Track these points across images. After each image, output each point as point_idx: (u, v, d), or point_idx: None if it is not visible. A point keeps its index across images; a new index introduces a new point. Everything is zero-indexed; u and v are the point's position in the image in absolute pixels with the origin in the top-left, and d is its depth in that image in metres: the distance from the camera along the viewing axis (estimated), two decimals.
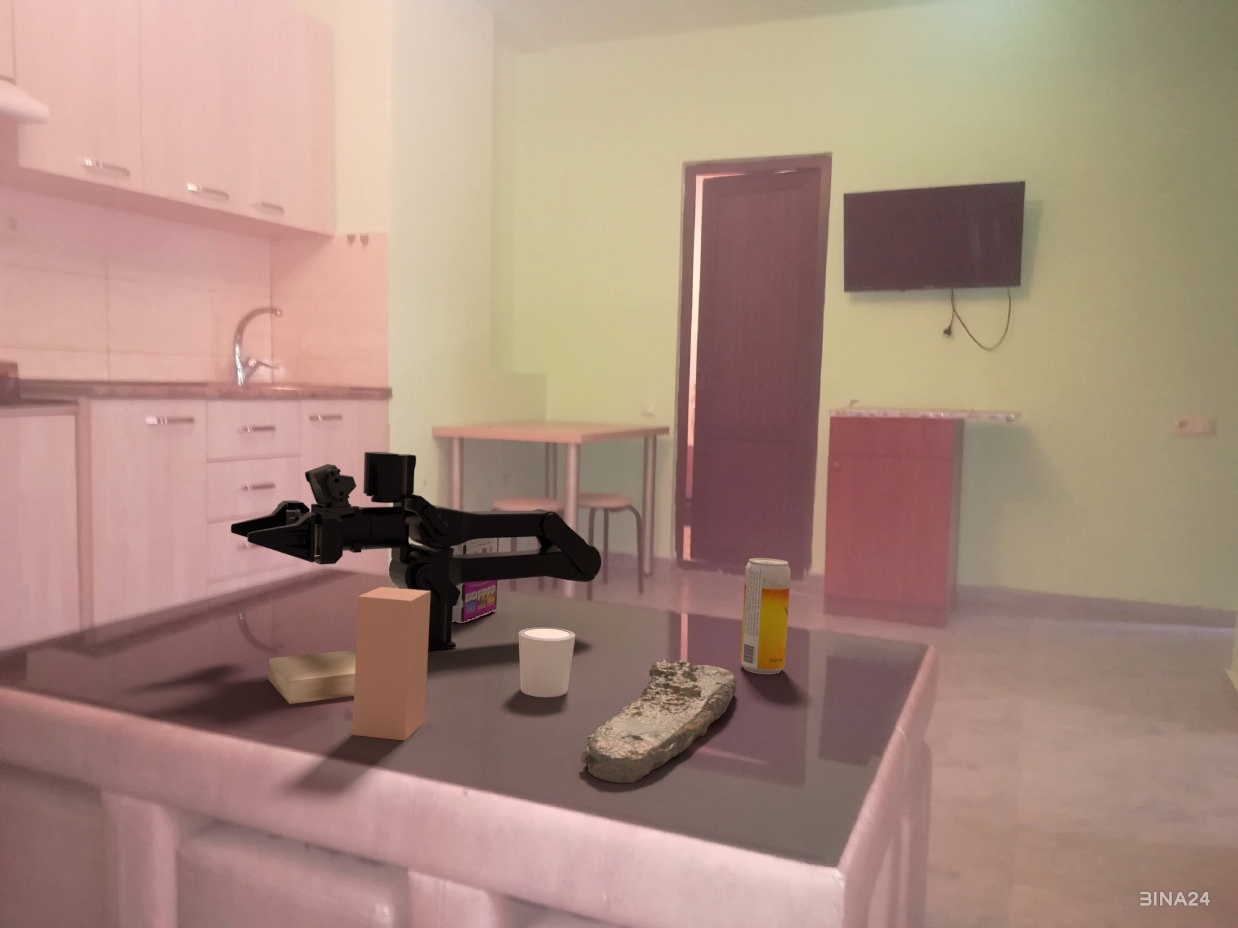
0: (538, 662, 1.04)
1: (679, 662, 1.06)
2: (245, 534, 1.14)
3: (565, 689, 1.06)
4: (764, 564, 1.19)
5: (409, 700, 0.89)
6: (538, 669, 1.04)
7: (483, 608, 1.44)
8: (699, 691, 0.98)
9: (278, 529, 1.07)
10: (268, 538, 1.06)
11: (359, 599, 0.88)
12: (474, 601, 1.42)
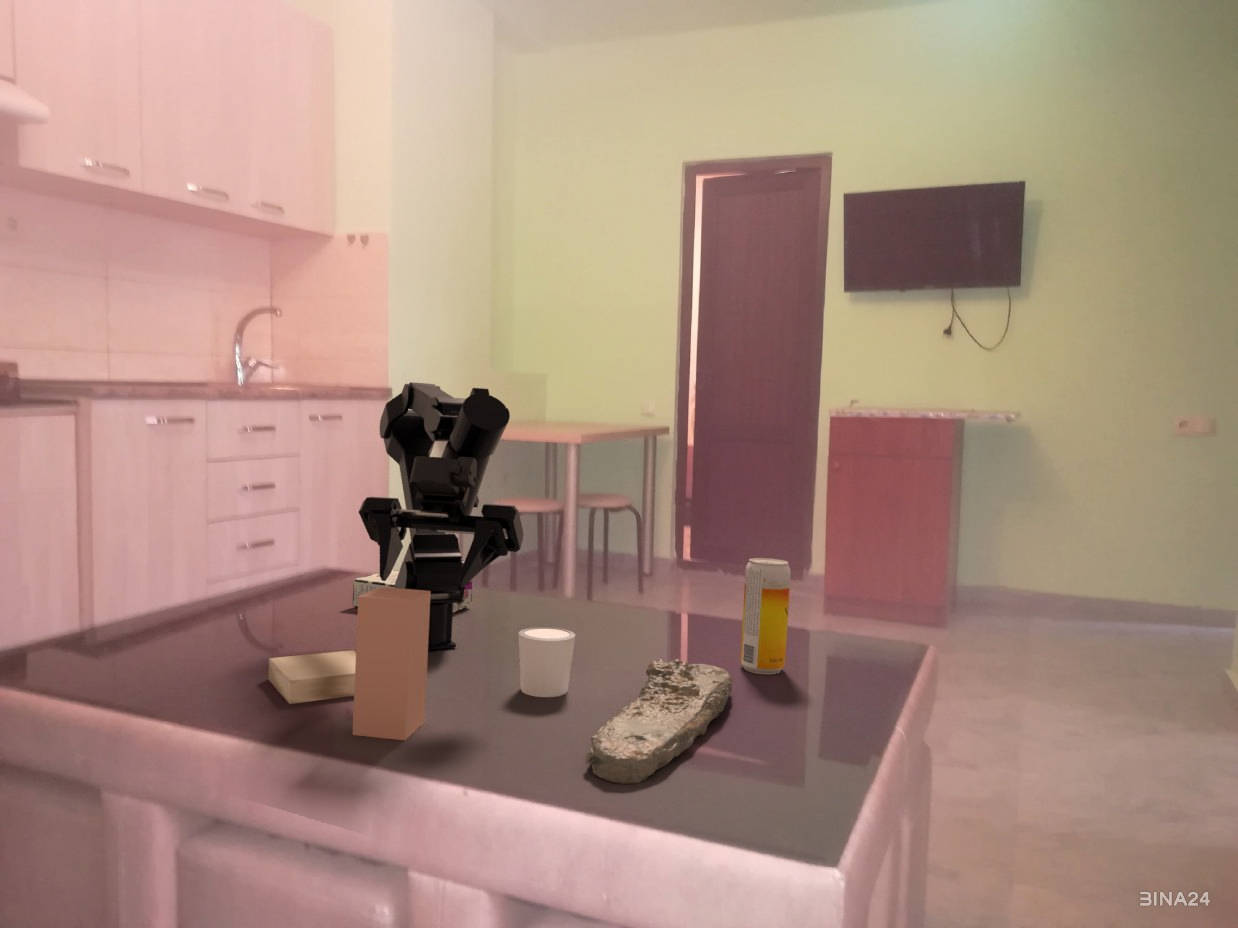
0: (538, 662, 1.04)
1: (675, 661, 1.06)
2: (390, 570, 1.01)
3: (565, 689, 1.06)
4: (764, 564, 1.19)
5: (409, 700, 0.89)
6: (538, 669, 1.04)
7: None
8: (697, 690, 0.98)
9: (476, 556, 0.99)
10: (473, 569, 1.00)
11: (359, 599, 0.88)
12: None
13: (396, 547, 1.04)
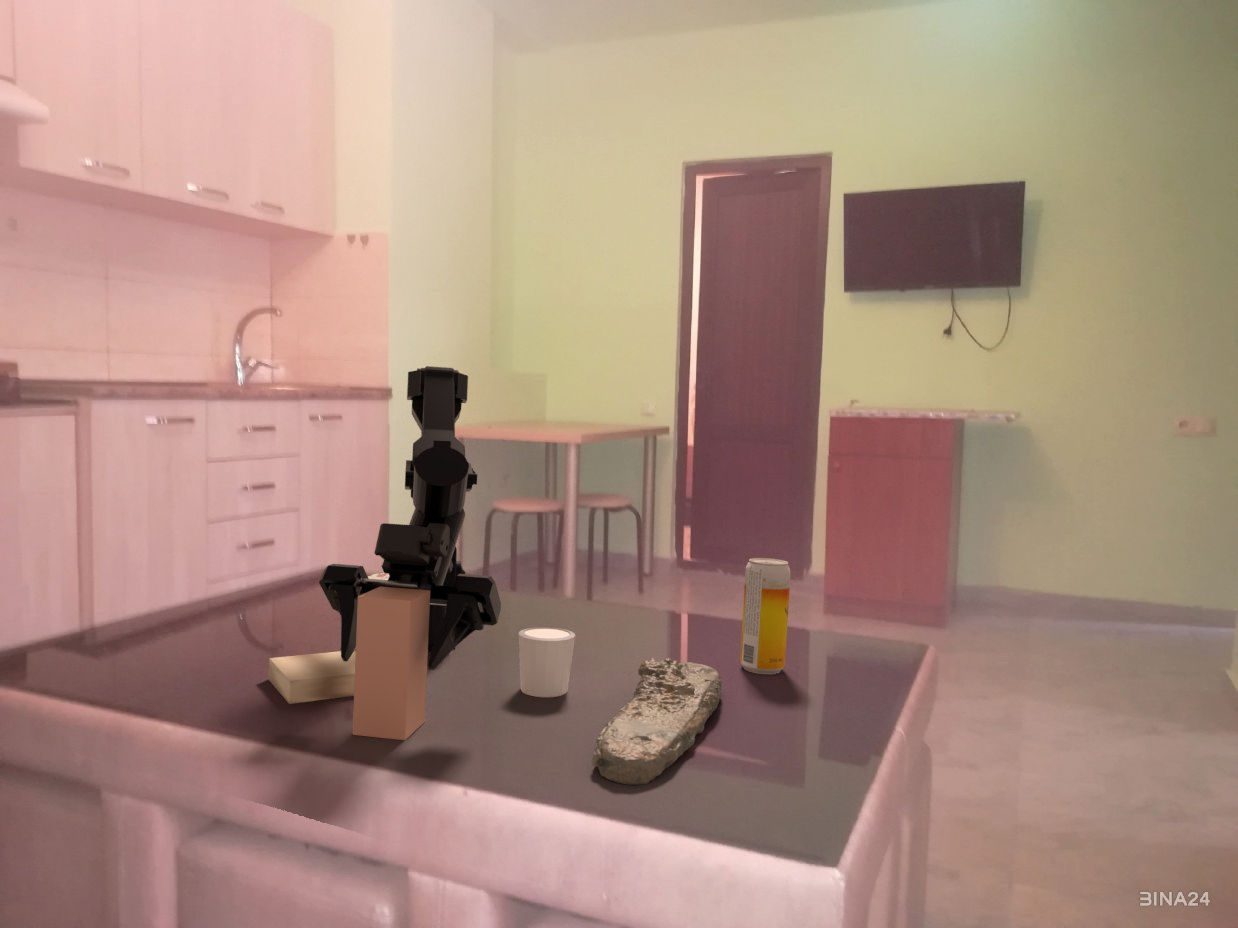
0: (538, 663, 1.04)
1: (666, 660, 1.06)
2: (353, 648, 0.92)
3: (565, 689, 1.06)
4: (764, 564, 1.19)
5: (409, 700, 0.89)
6: (538, 669, 1.04)
7: None
8: (693, 689, 0.99)
9: (448, 635, 0.90)
10: (444, 649, 0.90)
11: (359, 599, 0.88)
12: None
13: None
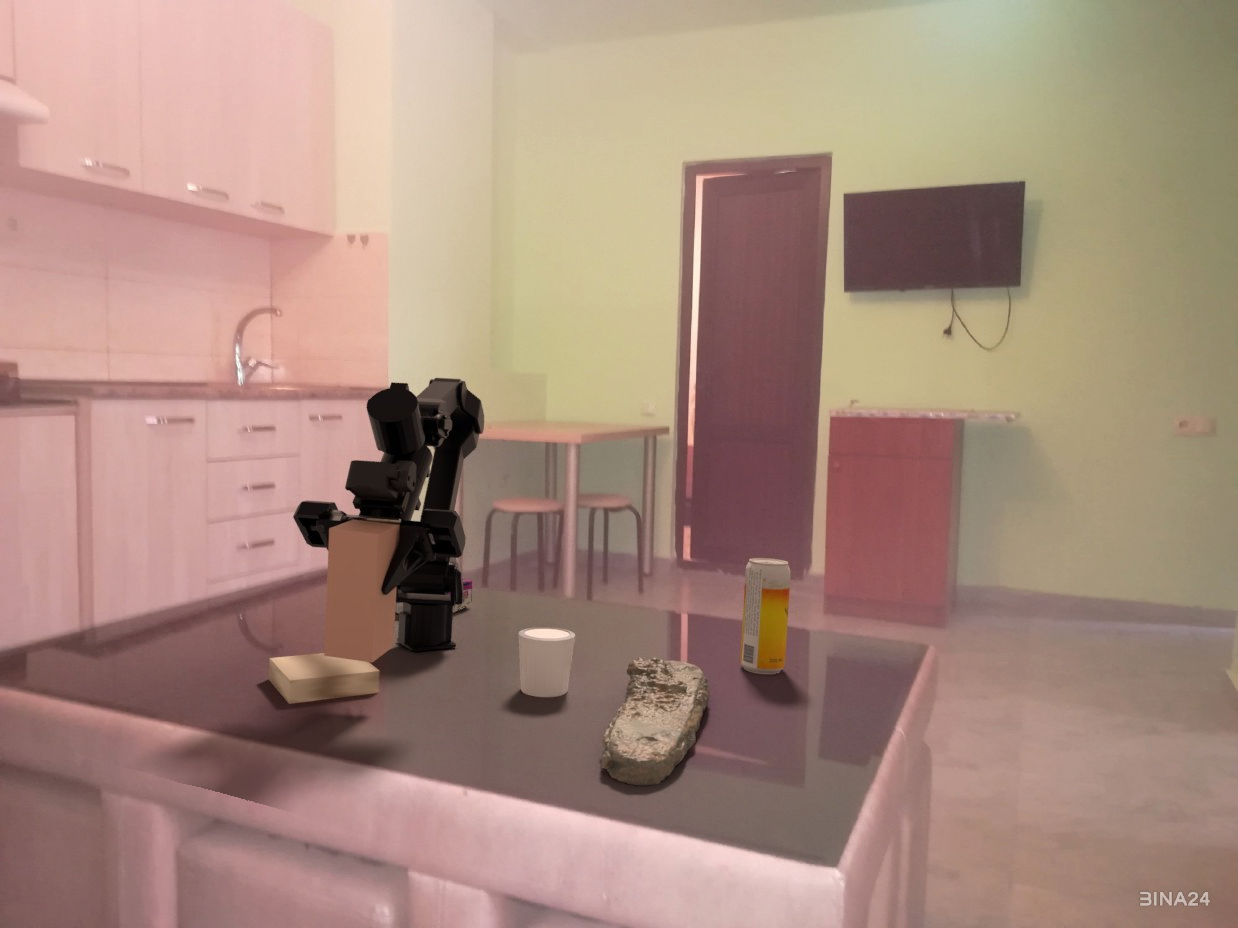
0: (538, 663, 1.04)
1: (654, 659, 1.06)
2: None
3: (565, 689, 1.06)
4: (764, 564, 1.19)
5: (377, 626, 0.95)
6: (538, 669, 1.04)
7: None
8: (685, 687, 0.99)
9: (400, 563, 0.96)
10: (397, 577, 0.97)
11: (330, 531, 0.94)
12: None
13: None
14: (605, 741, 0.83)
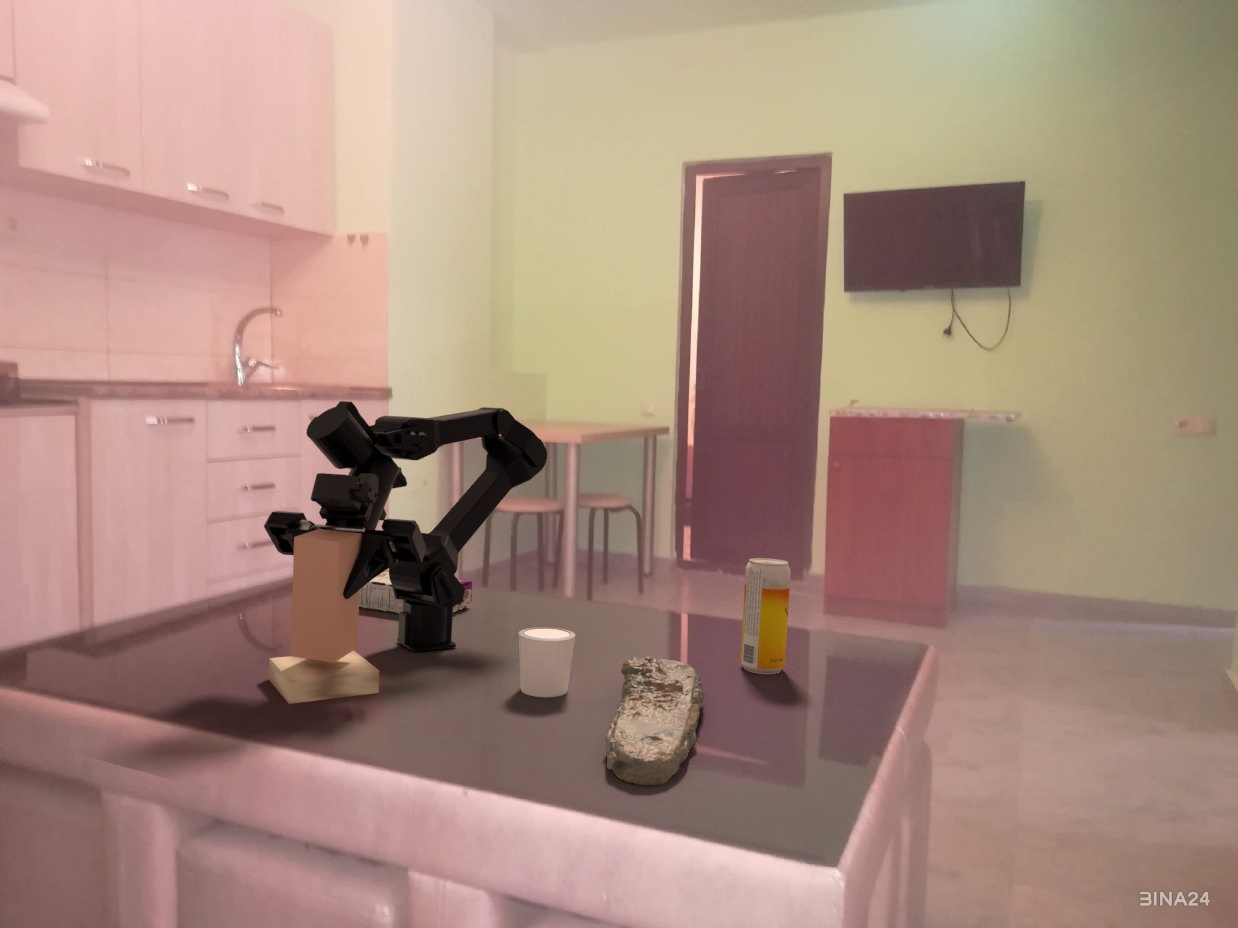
0: (538, 663, 1.04)
1: (647, 658, 1.06)
2: None
3: (565, 689, 1.06)
4: (764, 564, 1.19)
5: (339, 628, 1.01)
6: (538, 669, 1.04)
7: None
8: (681, 686, 0.99)
9: (361, 569, 1.03)
10: (358, 582, 1.03)
11: (295, 539, 1.00)
12: None
13: None
14: (610, 742, 0.83)
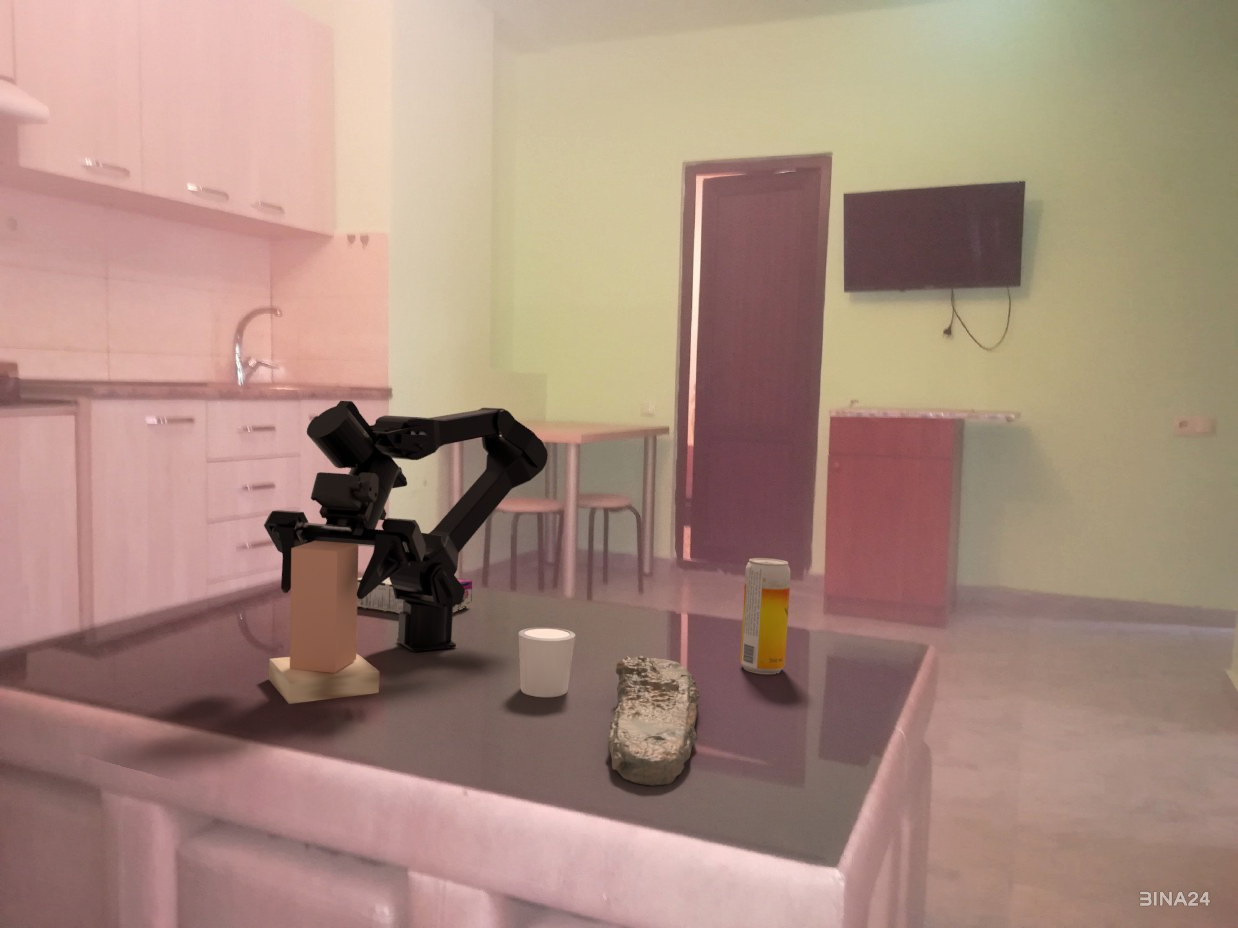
0: (538, 663, 1.04)
1: (641, 657, 1.07)
2: None
3: (565, 689, 1.06)
4: (764, 564, 1.19)
5: (338, 638, 1.01)
6: (538, 669, 1.04)
7: None
8: (678, 685, 1.00)
9: (375, 570, 1.03)
10: (372, 582, 1.03)
11: (292, 550, 1.00)
12: None
13: None
14: (614, 742, 0.83)
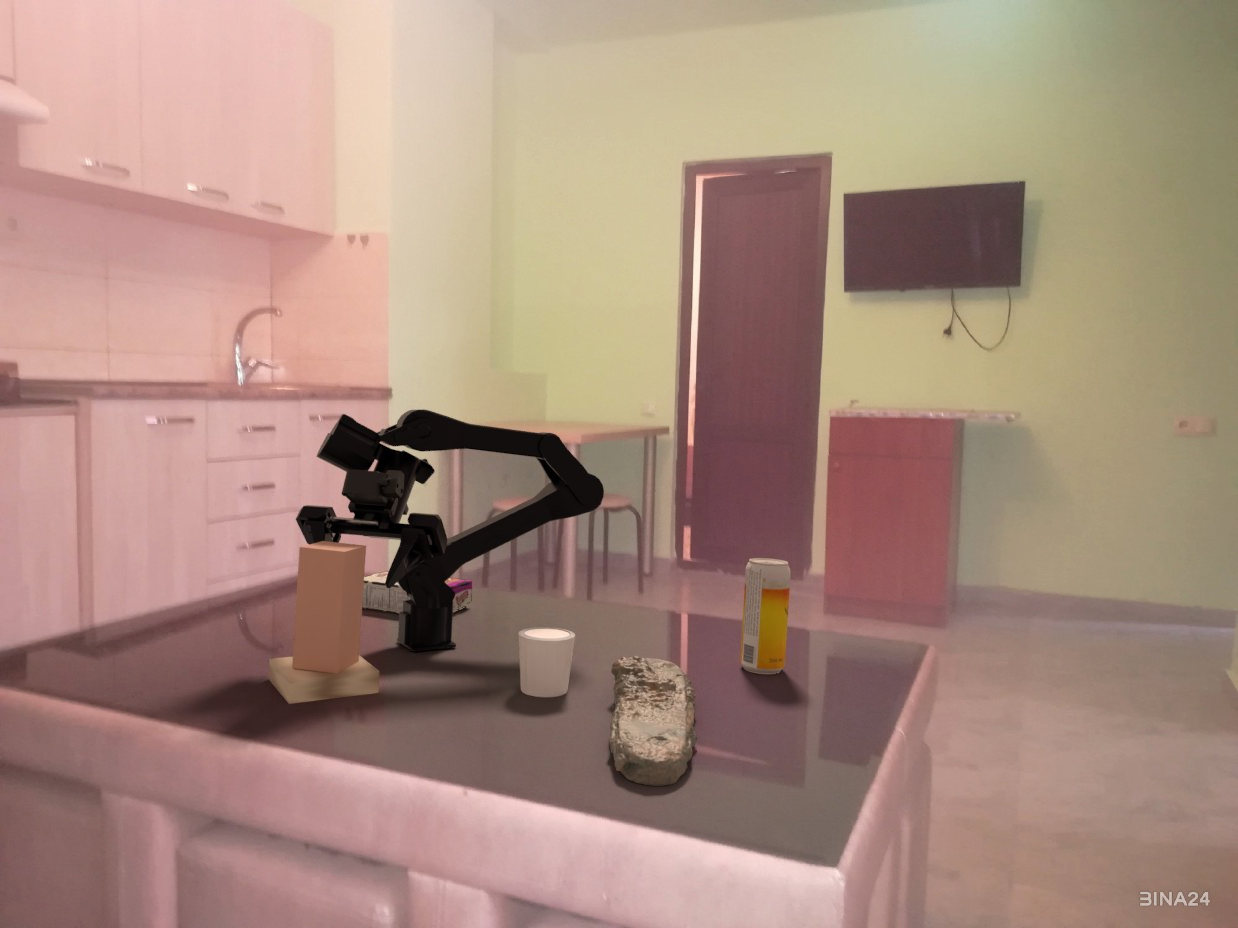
0: (538, 663, 1.04)
1: (636, 657, 1.06)
2: None
3: (565, 689, 1.06)
4: (764, 564, 1.19)
5: (342, 639, 1.01)
6: (538, 669, 1.04)
7: (451, 583, 1.46)
8: (675, 685, 1.00)
9: (402, 561, 1.10)
10: (399, 573, 1.10)
11: (300, 549, 1.01)
12: None
13: None
14: (617, 743, 0.83)
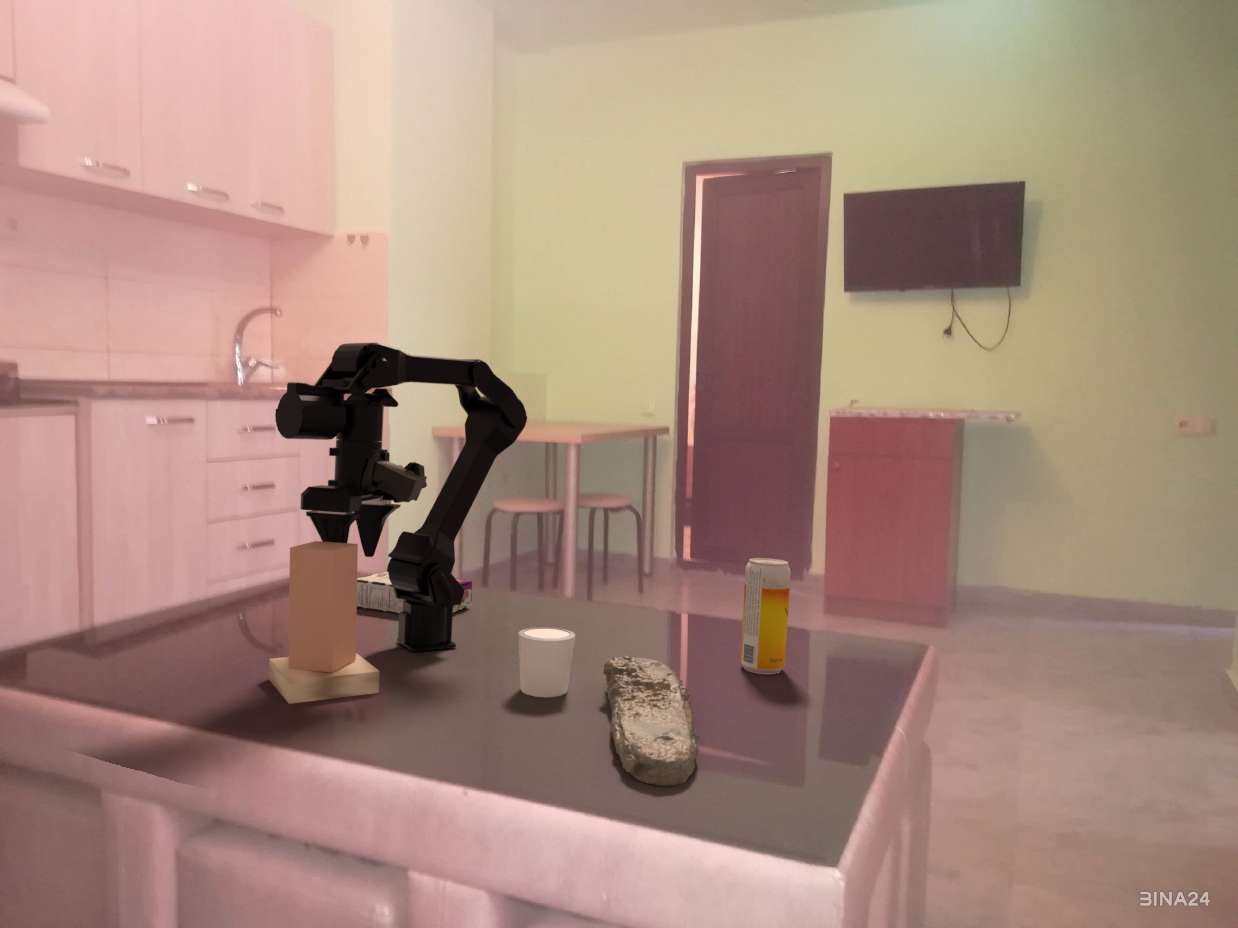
0: (538, 663, 1.04)
1: (626, 657, 1.06)
2: None
3: (565, 689, 1.06)
4: (764, 564, 1.19)
5: (336, 638, 1.01)
6: (538, 669, 1.04)
7: None
8: (669, 684, 1.00)
9: (380, 532, 1.20)
10: None
11: (290, 550, 1.01)
12: None
13: None
14: (626, 744, 0.83)
